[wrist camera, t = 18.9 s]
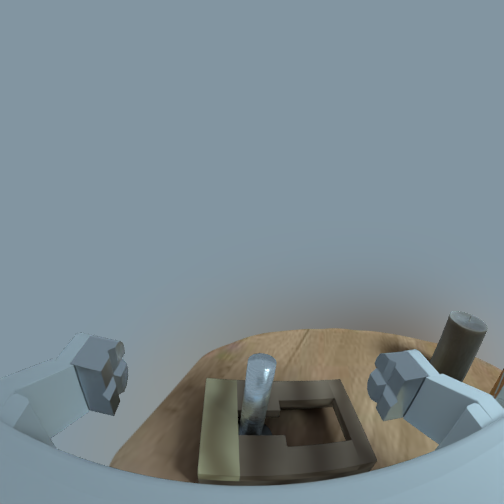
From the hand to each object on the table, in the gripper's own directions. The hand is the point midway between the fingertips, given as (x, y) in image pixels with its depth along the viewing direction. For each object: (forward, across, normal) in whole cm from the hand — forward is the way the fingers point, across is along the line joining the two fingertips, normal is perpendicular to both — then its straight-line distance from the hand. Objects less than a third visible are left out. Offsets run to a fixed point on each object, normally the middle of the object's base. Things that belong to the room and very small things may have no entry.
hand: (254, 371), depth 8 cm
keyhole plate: (+17, -8, +28) cm, 34 cm away
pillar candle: (+27, -46, +28) cm, 60 cm away
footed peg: (+17, -3, +28) cm, 33 cm away
